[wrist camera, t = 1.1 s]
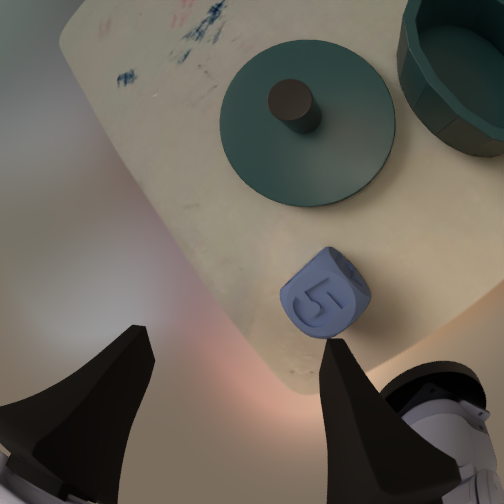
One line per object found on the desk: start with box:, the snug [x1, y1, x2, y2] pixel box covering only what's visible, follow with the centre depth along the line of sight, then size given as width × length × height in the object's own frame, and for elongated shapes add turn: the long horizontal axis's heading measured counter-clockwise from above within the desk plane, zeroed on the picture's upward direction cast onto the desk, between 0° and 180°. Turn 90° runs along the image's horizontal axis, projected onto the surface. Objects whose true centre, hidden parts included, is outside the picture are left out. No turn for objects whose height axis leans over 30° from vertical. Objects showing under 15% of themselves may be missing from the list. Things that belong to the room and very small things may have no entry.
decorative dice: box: [280, 247, 371, 339], centre depth 17 cm, size 4×4×4 cm
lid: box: [220, 40, 395, 207], centre depth 16 cm, size 11×11×5 cm
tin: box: [397, 0, 504, 157], centre depth 11 cm, size 10×10×5 cm
